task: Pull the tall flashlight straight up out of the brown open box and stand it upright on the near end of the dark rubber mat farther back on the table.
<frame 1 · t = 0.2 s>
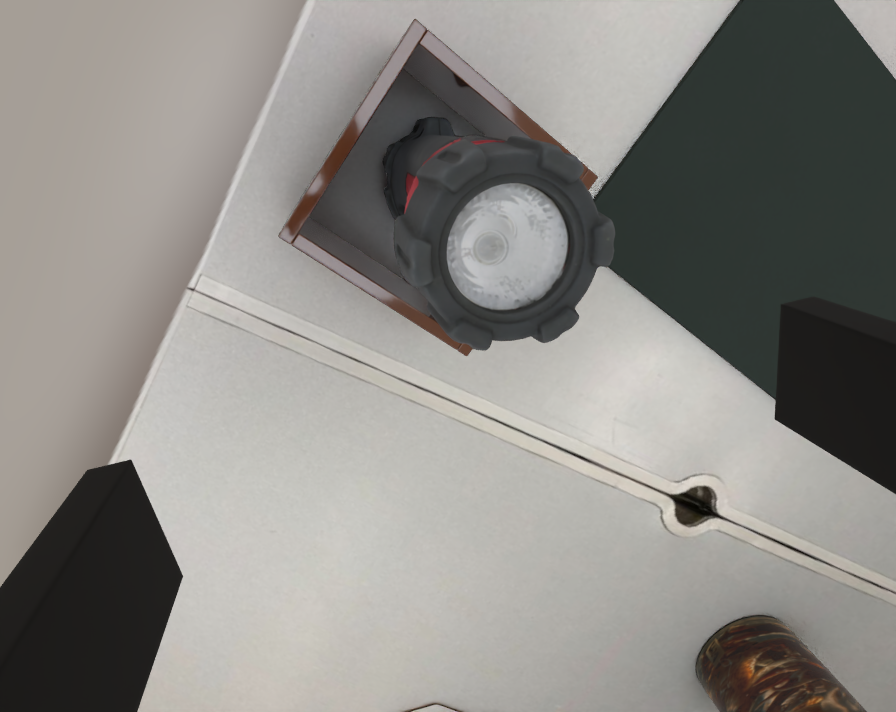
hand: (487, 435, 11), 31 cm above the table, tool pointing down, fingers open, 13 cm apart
flashlight: (419, 192, 40), resting in brown open box
brown open box: (420, 192, 40), on the table
jar: (741, 653, 65), on the table
mat: (824, 251, 48), on the table
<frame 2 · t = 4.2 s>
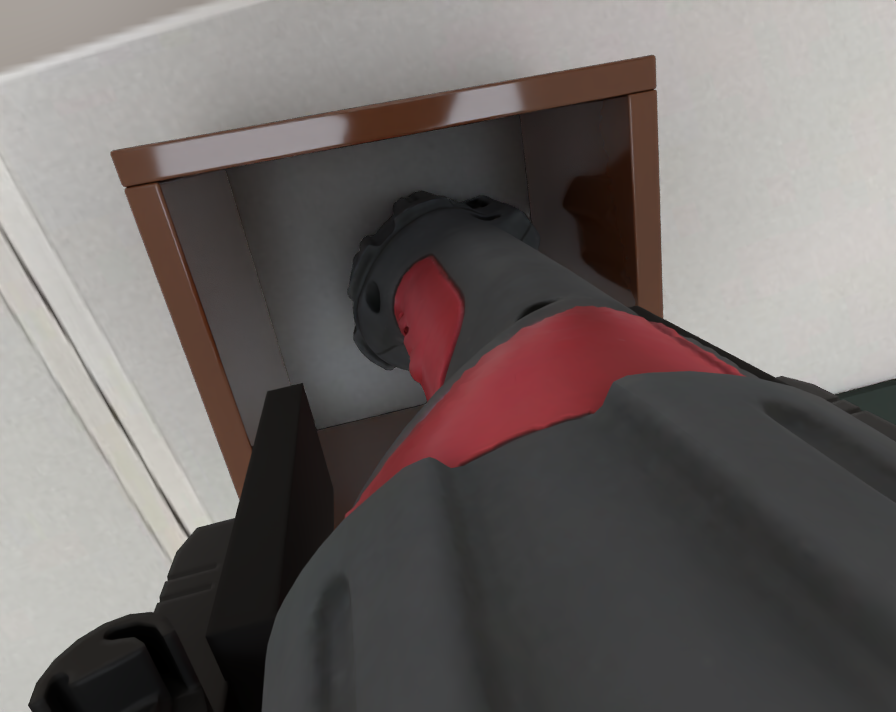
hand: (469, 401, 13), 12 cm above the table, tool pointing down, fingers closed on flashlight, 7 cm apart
flashlight: (405, 280, 24), resting in brown open box, touching gripper
brown open box: (405, 282, 24), on the table
mat: (734, 683, 38), on the table
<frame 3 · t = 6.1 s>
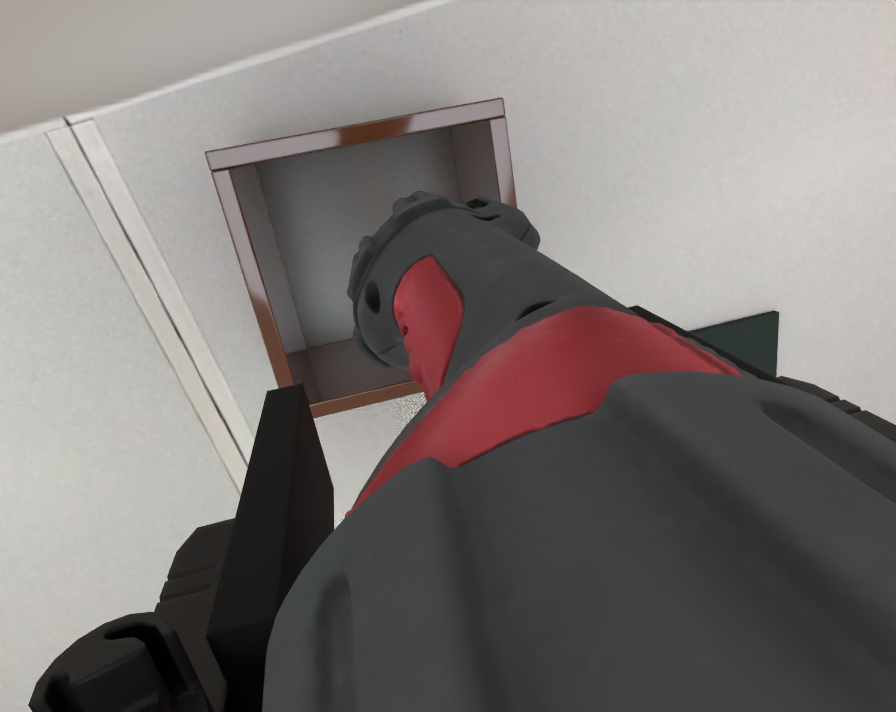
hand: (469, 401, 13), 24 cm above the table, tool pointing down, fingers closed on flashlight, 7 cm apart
flashlight: (405, 280, 24), point 12 cm above the table, touching gripper
brown open box: (375, 241, 35), on the table
mat: (638, 562, 49), on the table
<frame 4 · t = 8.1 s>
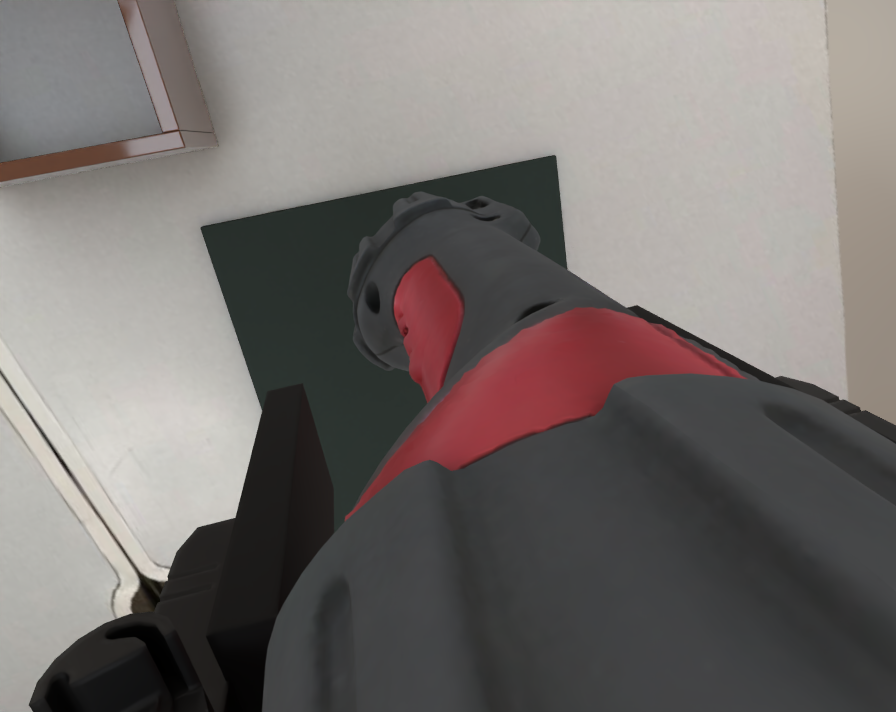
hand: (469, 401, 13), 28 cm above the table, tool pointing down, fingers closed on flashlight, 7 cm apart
flashlight: (405, 281, 24), point 16 cm above the table, touching gripper
brown open box: (63, 46, 32), on the table
mat: (437, 444, 46), on the table
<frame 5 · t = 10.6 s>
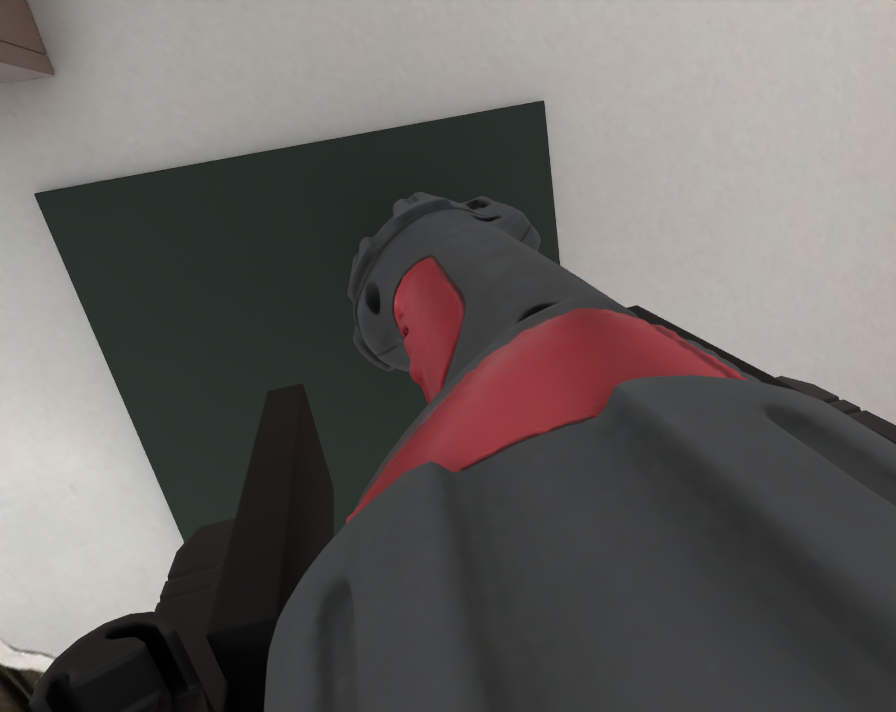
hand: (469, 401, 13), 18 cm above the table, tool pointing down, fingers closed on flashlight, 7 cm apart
flashlight: (405, 281, 24), point 6 cm above the table, touching gripper
mat: (389, 489, 35), on the table
when the fingers open (13 cm above the table, at t = 12.4 s): flashlight stays where it is, resting on mat.
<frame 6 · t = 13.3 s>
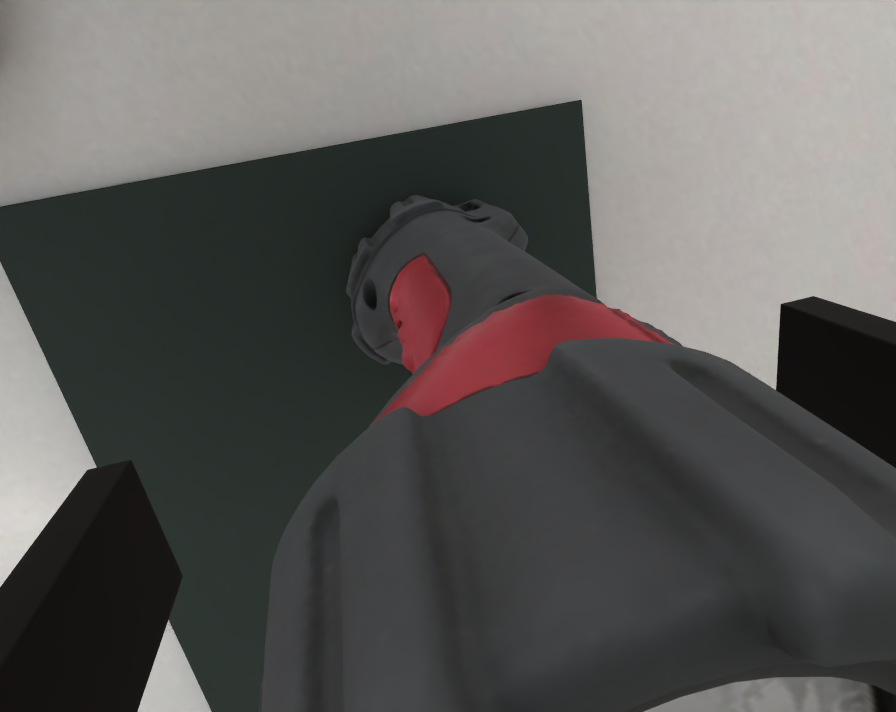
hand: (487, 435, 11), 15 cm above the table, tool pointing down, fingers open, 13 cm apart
flashlight: (401, 280, 25), resting on mat
mat: (397, 543, 30), on the table
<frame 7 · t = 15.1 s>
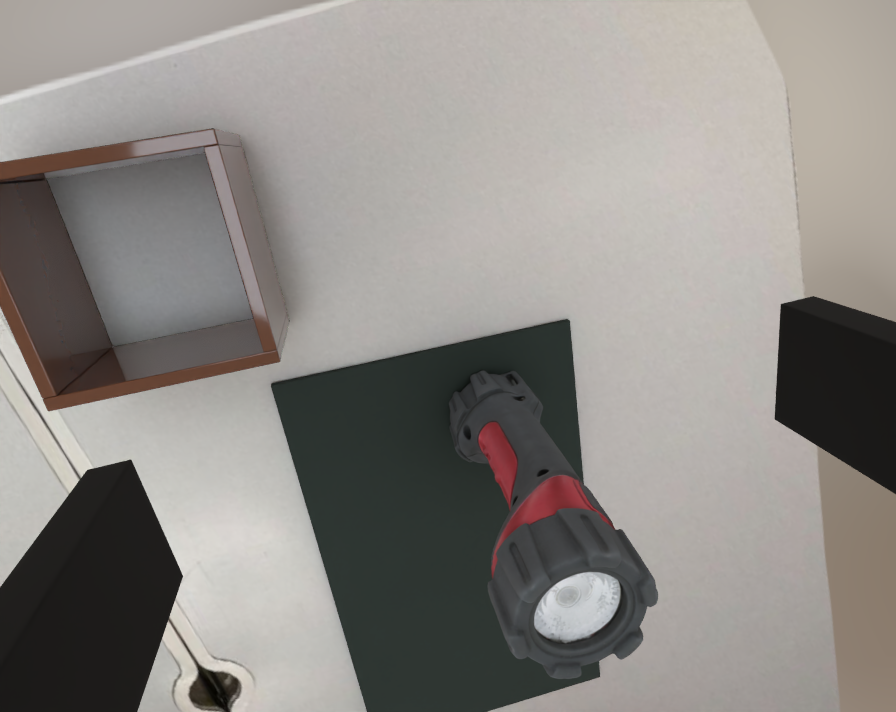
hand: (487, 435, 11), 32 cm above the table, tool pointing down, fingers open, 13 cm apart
flashlight: (473, 410, 47), resting on mat
brown open box: (169, 251, 39), on the table
mat: (461, 552, 52), on the table
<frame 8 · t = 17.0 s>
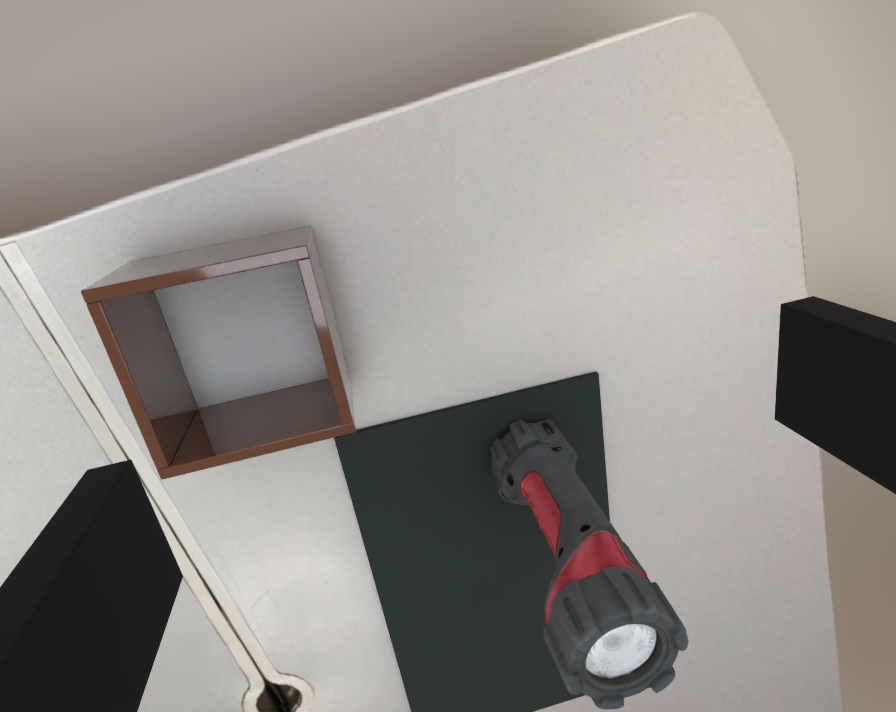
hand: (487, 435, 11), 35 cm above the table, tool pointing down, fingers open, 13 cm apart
flashlight: (511, 453, 53), resting on mat
brown open box: (248, 326, 44), on the table
mat: (499, 576, 58), on the table
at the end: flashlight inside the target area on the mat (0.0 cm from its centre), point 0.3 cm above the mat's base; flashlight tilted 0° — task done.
